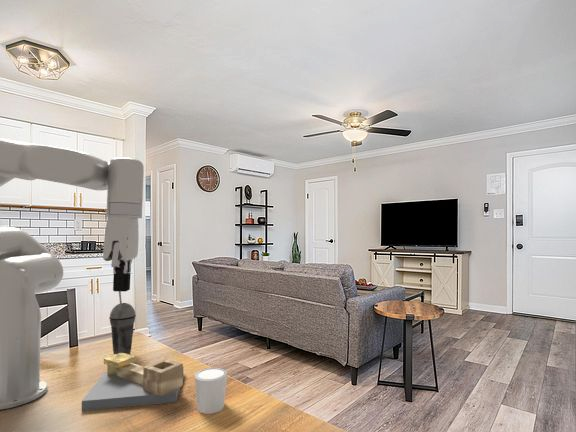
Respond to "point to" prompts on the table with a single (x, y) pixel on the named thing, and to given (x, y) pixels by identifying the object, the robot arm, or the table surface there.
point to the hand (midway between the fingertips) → (121, 290)
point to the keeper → (117, 362)
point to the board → (122, 394)
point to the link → (155, 376)
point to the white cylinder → (210, 389)
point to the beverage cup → (122, 327)
